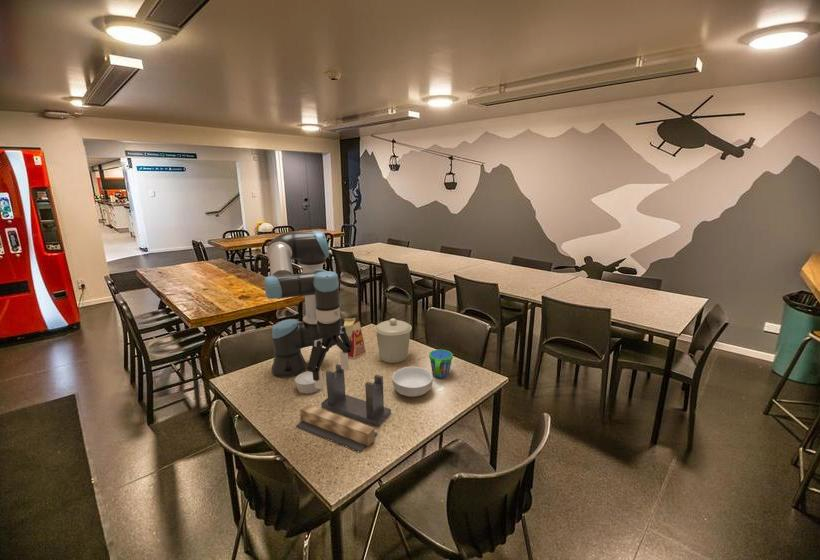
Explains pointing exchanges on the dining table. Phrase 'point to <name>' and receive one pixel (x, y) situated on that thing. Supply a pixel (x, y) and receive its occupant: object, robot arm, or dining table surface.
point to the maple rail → (338, 424)
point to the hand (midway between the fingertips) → (332, 378)
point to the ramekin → (306, 383)
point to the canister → (393, 340)
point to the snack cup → (440, 362)
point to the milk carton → (355, 338)
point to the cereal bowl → (412, 381)
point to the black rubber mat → (332, 436)
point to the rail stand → (356, 399)
